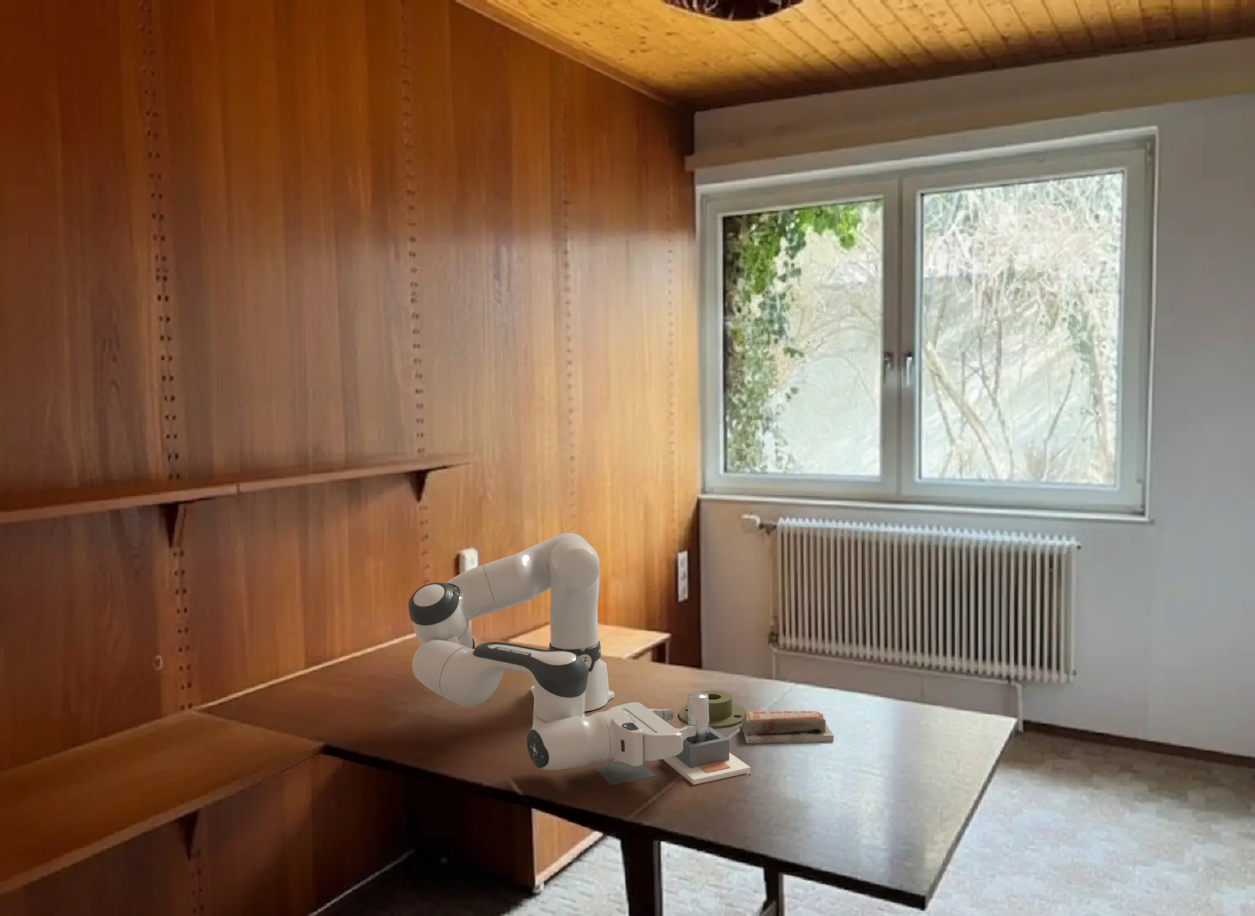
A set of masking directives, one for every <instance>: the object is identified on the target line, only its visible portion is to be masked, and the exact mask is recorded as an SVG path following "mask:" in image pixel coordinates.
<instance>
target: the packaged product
mask: <svg viewBox="0 0 1255 916" xmlns="http://www.w3.org/2000/svg"><path fill="white" fill-rule="evenodd" d="M740 726H741V731H742V734H743V733H744V734H743V736H744V740H745V742H746V743H747V742H749V743H748V744H762V743H761V742H764V743H763V744H783V743H782V742H799V743H815V742H816V743H821V742H822V741H823V742H822V743H824V741H828V742H834V739H835V738H834V737H835V736H834V733H832V731H831V729H830V728H829V726H828V725H827V722H826V719H825V717H824V714H823V713H821V712H820V711H818V710H771V711H770V710H768V711H767V710H765V711H763V710H761V711H758V710H756V711H755V710H754V711H747V712H745V715H744V717H743V719H742V723H740ZM820 741H821V742H820ZM751 742H752V743H751ZM755 742H756V743H755ZM758 742H760V743H758ZM776 742H778V743H776ZM779 742H781V743H779Z"/></svg>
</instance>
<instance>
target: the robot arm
mask: <svg viewBox="0 0 1255 916" xmlns="http://www.w3.org/2000/svg"><path fill="white" fill-rule="evenodd" d="M600 564H601V563H600V557H599V554H598V553H597V551H596V550H595V548H594V547H593V546H592V545H591V544H590V543H589V542H588V541H587V540H586V539H585V538H584V537H583V536H581V535H579V534H578V533H574V532H573V533H572V532H564V533H560V534H558V535H556V536H554V537H551V538H548V539H545V540H543V541H541V542H538V543H536V544H535V545H531V546H529V547H527V548H526V549H524V550H522V551H519V552H517V553H514V554H512V555H511V554H510V555H509V556H508V555H507V556H505V557H502V558H499V559H496V560H494V561H490V562H487V563H484V564H481V565H478V566H475V567H473V568H471V569H468V570H466V571H463V572H462V573H459V574H458V575H456V576H454V577H452V578H450V579H449V580H448V581H446V582H432V583H427V584H424V585H422V586H420V587H419V588H417V590H415V591H414V593H412V595H411V596H410V598H409V599H408V602H407V603H408V606H407V607H408V615H409V618H410V620H411V621H412V625H413V629H414V633H415V635H416V638H417V640H418V642H419V643H420V646H419V647H418V648H417V650H416V651H415V653H414V655H413V657H412V664H411V667H412V668H411V669H412V673H413V675H414V677H415V678H416V679H417V680H418V681H419V682H420V683H421V684H423V685H424V686H425V687H426V688H428V689H429V690H431V691H432V692H433V693H435V694H437V695H439V696H440V697H442V698H445V699H446V700H449V701H451V702H453V703H454V704H457V705H461V706H464V707H465V706H466V707H472V706H477V705H480V704H482V703H484V702H485V701H487V700H488V699H490V698H491V696H492V695H493V694H494V693H495V692H496V690H497V689H498V687H499V685H500V684H501V681H502V678H503V677H504V676H503V675H504V672H505V671H510V672H515V673H520V674H524V675H525V674H526V675H529V677H530V678H531V680H532V683H533V685H531V687H530V691H531V695H532V696H533V713H532V727H531V728H530V729H529V730H528V732H527V735H526V748H527V752H528V755H529V759H530V760H531V762H532V763H533V764H534V765H535V767H536V768H537V769H540V770H545V771H557V770H559V771H560V770H568V769H574V768H579V767H580V768H581V767H583V766H586V765H588V764H590V763H593V762H599V763H600V762H601V763H604V762H609V761H614V762H617V763H618V762H623V763H626V764H628V765H631V766H640V765H642V764H643V765H644V761H646V762H654V761H659V760H663V759H664V758H668V757H672V756H675V755H678V754H680V753H681V752H682V751H683V740H685V739H686V738H688V737H691V736H695V734H696V727H695V726H693V725H691V724H689V725H688V724H684V725H683V727H682V728H679V727H677V728H675V727H674V726H672V724H670V723H669V722H667V721H669V720H670V721H672V720H673V718H674V712H673V711H672V710H671V709H670V708H664V709H658V708H648V707H646V706H645V705H643V704H642V703H640V702H637V701H635V702H634V701H632V702H627V703H623V704H620V705H619V704H618V705H615V706H612V707H610V708H609V709H608V710H603V711H597V712H593V713H592V714H590V715H587V716H586V715H585V712H588V711H589V712H590V711H593V710H596V709H597V710H598V709H600V708H603V706H605V705H607V703H608V701H610V700H612V699H613V698H615V692H614V691H613V690H611V689H609V687H610V686H609V677H608V668H607V666H608V665H607V663H606V662H605V661H603V660H602V659H601V657H602V653H601V652H602V645H601V641H600V640H599V620H598V618H599V617H598V616H599V614H598V611H599V610H598V605H599V595H600V593H599V592H600V577H601V574H600V572H601V570H600V568H601V566H600ZM549 590H550V604H549V629H550V630H549V631H550V633H549V635H550V641H549V644H548V649H541V648H537V647H532V646H525V645H520V644H514V643H510V642H509V643H508V642H501V641H489V642H483V643H480V644H479V645H477V646H476V644H475V640H474V638H473V635H472V631H471V628H470V623H469V622H470V621H471V620H473V618H474V619H475V618H478V617H481V616H486V615H490V614H493V613H495V612H499V611H502V610H505V609H509V608H512V607H514V606H517V605H520V604H523V603H525V602H528V601H529V602H530V601H531V600H533V599H534V598H537V596H539V595H542V594H543V593H545V592H547V591H549Z"/></svg>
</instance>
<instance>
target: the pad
mask: <svg viewBox="0 0 1255 916" xmlns="http://www.w3.org/2000/svg"><path fill="white" fill-rule="evenodd" d="M593 769H594V771H596V772H598V773H599V775H600V776H601V777H602V778H603V779H605V780H604V781H607V783H608V784H609V785H610V786H611V787H613V786H617V785H622V784H626V783H630V782H635V781H639V780H644V779H645V780H646V779H650V778H654V777H656V776H657V775H656V774H655V773H653V772H652V771H651V770H650V769H649V767H646V765H645V764H644V763H643V764H642V765H640V766H631V765H628V764H626V763H623V762H618V761H617V762H615V763H610V764H609V763H608V764H603V765H599V766H594V767H593Z"/></svg>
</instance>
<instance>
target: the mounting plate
mask: <svg viewBox="0 0 1255 916" xmlns="http://www.w3.org/2000/svg"><path fill="white" fill-rule="evenodd" d="M662 760H663V761H664V762H665V763H667V764H668V765H669V766H670V767H671V768H673V769H674V770H675V771H676V772H677V773H679V774H680V775H681V776H683V777H684V779H686V780H687V781H688V782H690V784H691V785H699V784H703V783H708V782H711V781H718V780H721V779H726V778H731V777H734V776H740V775H744V774H746V775H748V776H750V775H749V774H752V772H751V770H752V769H751V768H752V767H751V766H749V765H748V764H747V763H745V762H743V761H742V760H741V759H739V758H738V757H736V756H735V755H733V754H732V753H731V752H730V739H729V738H727V736H724V735H723V734H722V733H720V732H718V731H717V730H715V728H711V727H710V726H709V741H706V742H701V743H696V744H692V743H690V742H689V737H688V738H686V739H685V740H683V751H682V752H681V753H680V754H678V755H675V756H672V757H668V758H664V759H662Z"/></svg>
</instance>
